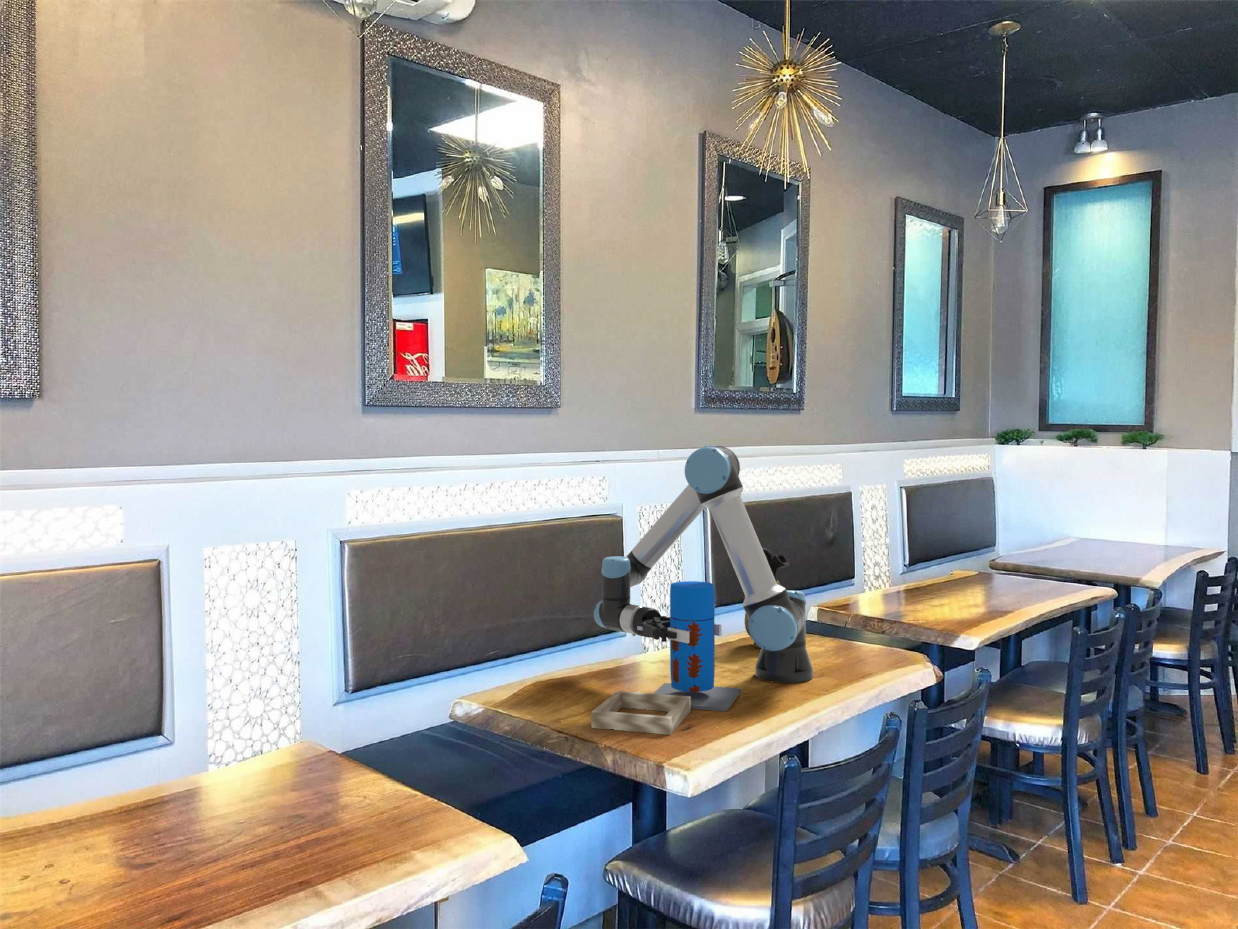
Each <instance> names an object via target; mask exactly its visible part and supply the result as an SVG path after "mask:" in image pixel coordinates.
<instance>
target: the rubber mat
mask: <svg viewBox="0 0 1238 929" xmlns="http://www.w3.org/2000/svg"><path fill="white" fill-rule="evenodd" d="M740 692H742V688H740V687H726V686H715V685H714V687H713V688H712V689H710V690H707V691H701V692H686V691H679V690H676V689H674V688H672V687H671V682H670V683H668V682H663V683H662V685H661V686H659V687H657V689H656V690H655V691H654V692H652V694H665V695H678V696H691V710H698V711H699V710H702V711H712V712H713V711H715V712H727V711H728V710H729V708H730V707H732V705H733V703H734V702H735V700H737V698H738V697H737V696H740V694H741V693H740Z"/></svg>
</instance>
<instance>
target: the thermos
mask: <svg viewBox="0 0 1238 929" xmlns="http://www.w3.org/2000/svg"><path fill="white" fill-rule="evenodd" d="M669 587H670V588H669V605H670V606H669V617H670V628H675V629H680V630H685V631H689V643H684V642H679V641H675V640H670V639H669V640H670V641H669V642H670V643H669V651H670V653H669V656H670V659H669V660H670V661H669V662H670V664H669V666H670V669H669V670H670V671H669V672H670V683H671V687H672V688H674V689H676V690H679V691H686V692H701V691H707V690H710V689H712V688H713V687H714V686H715V669H716V668H715V664H716V662H715V657H716V656H715V654H716V653H715V646H716V645H715V638H716V637H715V635H714V623H715V586H714V584H713V583H711V582H707V581H700V580H699V581H698V580H693V581H692V580H690V581H687V580H684V581H683V580H682V581H677V582H676V581H675V582H672V583H670V586H669Z"/></svg>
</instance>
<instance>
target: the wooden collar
mask: <svg viewBox="0 0 1238 929" xmlns="http://www.w3.org/2000/svg"><path fill="white" fill-rule="evenodd" d="M620 708H621V709H632V708H636V709H635V710H644V709H645V711H646V710H647V711H655V712H656V711H658V712H659V711H660V712H667V713H666V715H656V714H644V713H632V712H621V711H620V710H621V709H620ZM619 711H620V712H619ZM691 712H692V709H691V696H678V695H665V694H653V692H652V693H651V692H650V693H649V692H648V693H647V692H637V691H624V690H617V691H616V692H614V693H612V695H611V696H609V697H608V698H607V699H605V701H603V702H602V703H601V704H600V705H598V706H597V707H596V708H594V709H593V710H592V711H591V714H590V718H591V721H590V722H591V723H590V724H591V725H590V726H591V729H592V728H593V729H600V730H601V729H602V730H610V729H614V731H622V730H623V731H624V732H632V733H633V732H634V733H644V732H645V734H646V733H647V734H654V735H657V734H658V735H667V736H668V735H669V736H671V735H672V733H674V731H675V730H676V729H677V728H678V727H679V726H680V724H682V722H683V721H684V720H685V718H686V717H688V715H689V714H690V713H691Z"/></svg>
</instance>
